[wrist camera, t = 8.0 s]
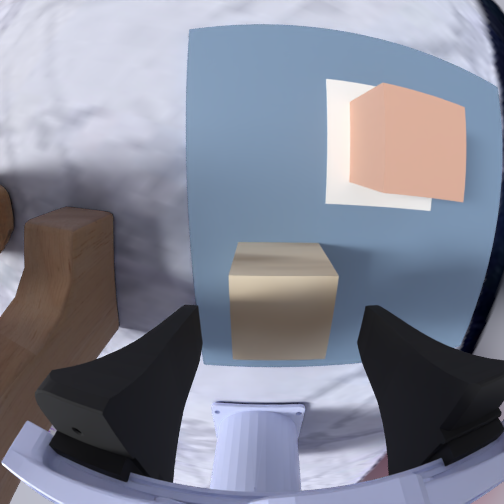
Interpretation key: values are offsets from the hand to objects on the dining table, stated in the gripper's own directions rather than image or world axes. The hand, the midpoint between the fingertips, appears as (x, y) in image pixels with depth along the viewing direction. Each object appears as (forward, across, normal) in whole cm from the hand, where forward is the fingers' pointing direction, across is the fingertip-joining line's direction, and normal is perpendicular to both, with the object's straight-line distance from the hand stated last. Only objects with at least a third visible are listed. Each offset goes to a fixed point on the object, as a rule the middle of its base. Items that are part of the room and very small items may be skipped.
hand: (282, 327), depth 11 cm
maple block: (+5, 0, 0) cm, 5 cm away
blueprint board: (+6, -6, -4) cm, 9 cm away
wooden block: (+6, +13, 0) cm, 14 cm away
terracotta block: (+5, -6, -8) cm, 11 cm away
